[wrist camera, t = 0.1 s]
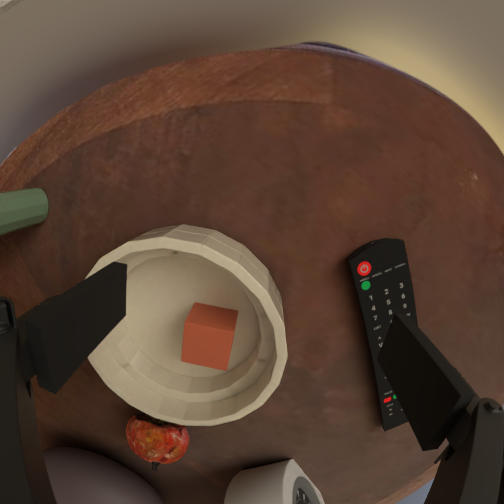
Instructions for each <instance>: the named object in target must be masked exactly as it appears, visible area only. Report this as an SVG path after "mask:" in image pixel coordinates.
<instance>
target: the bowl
mask: <svg viewBox="0 0 504 504" xmlns="http://www.w3.org/2000/svg"><path fill="white" fill-rule="evenodd" d="M113 261H115V262H119V263H124V264H127V288H126V316H125V317H124V318H123V319H122V320H121V321H120V322H119V323H118V325H117V326H116V327H115V328H114V329H113V330H112V331H111V332H110V333H109V334H108V335H107V336H106V338H105V339H104V340H103V341H102V342H101V343H100V344H99V345H98V346H97V347H96V349H95V350H94V351H93V352H92V353H91V354H90V355H89V356H88V359H89V362H90V363H91V365H92V366H93V367H94V369H95V370H96V372H97V373H98V374H99V376H100V377H101V378H102V380H103V381H104V382H105V384H106V385H107V386H108V387H109V388H110V389H111V390H112V391H114V392H115V393H116V394H117V395H118V396H120V397H121V398H122V399H123V400H124V401H126V402H127V403H128V404H129V405H131V406H133V407H135V408H137V409H138V410H140V411H142V412H144V413H146V414H148V415H150V416H152V417H154V418H157V419H161V420H164V421H168V422H172V423H176V424H180V425H189V426H213V425H218V424H222V423H226V422H230V421H234V420H238V419H240V418H242V417H244V416H245V415H247V414H249V413H250V412H252V411H254V410H255V409H257V408H259V407H260V406H262V405H263V404H264V403H265V401H266V400H267V399H268V398H269V396H270V395H271V394H272V393H273V392H274V390H275V389H276V388H277V387H278V385H279V383H280V380H281V377H282V374H283V371H284V367H285V364H286V361H287V357H288V355H287V345H286V335H285V325H284V317H283V308H282V299H281V295H280V293H279V291H278V289H277V287H276V285H275V283H274V281H273V279H272V277H271V275H270V273H269V271H268V269H267V268H266V267H265V266H264V265H263V264H262V263H261V262H260V261H259V260H258V259H257V258H256V257H255V256H254V255H253V254H252V253H251V252H250V250H249V249H248V248H247V247H246V246H244V245H242V244H241V243H239V242H237V241H235V240H233V239H231V238H229V237H227V236H226V235H224V234H222V233H220V232H218V231H216V230H212V229H207V228H201V227H196V226H190V225H185V224H184V225H183V224H181V225H175V226H168V227H162V228H156V229H152V230H150V231H148V232H146V233H144V234H142V235H140V236H138V237H136V238H134V239H132V240H130V241H128V242H127V243H125V244H123V245H121V246H120V247H118V248H116V249H114V250H113V251H111V252H109V253H108V254H106V255H104V256H103V257H101V258H100V259H99V260H98V262H97V263H96V264H95V266H94V267H93V269H92V270H91V271H90V273H89V274H88V275H87V277H86V278H88V277H89V276H91V275H92V274H94V273H96V272H97V271H99V270H100V269H102V268H104V267H105V266H107V265H108V264H110V263H112V262H113ZM86 278H85V279H86ZM195 302H197V303H202V304H207V305H212V306H217V307H222V308H227V309H232V310H238V316H237V322H236V327H235V333H234V338H233V344H232V349H231V354H230V359H229V364H228V369H227V371H224V370H219V369H214V368H209V367H204V366H200V365H195V364H191V363H186V362H182V361H181V354H182V342H183V331H184V322H185V320H186V318H187V316H188V314H189V313H190V311H191V309H192V307H193V305H194V303H195Z"/></svg>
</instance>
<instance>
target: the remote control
mask: <svg viewBox="0 0 504 504" xmlns="http://www.w3.org/2000/svg"><path fill="white" fill-rule="evenodd" d="M348 263H349V266H350V270H351V274H352V277H353V281H354V285H355V289H356V293H357V297H358V301H359V305H360V309H361V313H362V317H363V322H364V326H365V331H366V335H367V340H368V344H369V349H370V354H371V359H372V364H373V370H374V375H375V380H376V386H377V392H378V398H379V404H380V411H381V417H382V424H383V429H384V431H387V430H389V429H392V428H394V427H397V426H399V425H401V424H404V423H406V422H408V419H407V417H406V415H405V413H404V411H403V409H402V407H401V405H400V403H399V401H398V399H397V397H396V395H395V394H394V392H393V390H392V388H391V386H390V384H389V382H388V380H387V378H386V376H385V374H384V373H383V371H382V369H381V367H380V365H379V363H378V361H377V360H376V359H377V357H378V354H379V352H380V349H381V347H382V345H383V342H384V340H385V337H386V334H387V332H388V329H389V327H390V324H391V321H392V319H393V316H394V313H398V314H406V315H408V316H409V317H410V319H411V320H412V321H413V322H414V323H415V324H416V325H417V326H418V324H417V316H416V308H415V301H414V294H413V287H412V281H411V275H410V270H409V264H408V259H407V254H406V249H405V244H404V241H403V240H401V239H387V238H384V239H379V240H375V241H371V242H369V243H367V244H365V245H363V246H361V247H359V248H358V249H357V250H356V251H355V252H354V253H353V254H352V255H351V256H350V257H349V258H348Z"/></svg>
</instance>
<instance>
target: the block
mask: <svg viewBox="0 0 504 504" xmlns="http://www.w3.org/2000/svg"><path fill="white" fill-rule="evenodd" d="M237 316H238V310H232V309H227V308H222V307H217V306H212V305H207V304H202V303H197V302H195V303H194V305H193V307H192V309H191V311H190V313H189V314H188V316H187V318H186V320H185V322H184V331H183V342H182V354H181V361H182V362H186V363H191V364H195V365H200V366H204V367H209V368H214V369H219V370H224V371H227V369H228V364H229V359H230V354H231V349H232V344H233V338H234V333H235V327H236V322H237Z"/></svg>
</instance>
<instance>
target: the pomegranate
mask: <svg viewBox="0 0 504 504" xmlns="http://www.w3.org/2000/svg"><path fill="white" fill-rule="evenodd" d="M126 435H127V440H128V443H129V446H130V447H131V449H132V450H133V451H134V452H135V453H136V454H137V455H138V456H140V457H142V458H143V459H144V460H146V461H149V462H152V470H153V471H156V470H157V466H158V464H160V463H162V464H164V463H172V462H175V461H177V460H178V459H180V458H181V457H182V456H183V455H184V454H185V452H186V450H187V448H188V444H189V435H188V431H187V429H186V427H185V426H184V425H180V424H176V423H172V422H168V421H164V420H161V419H157V418H154V417H152V416H150V415H148V414H144V415H134V416H132V417H131V418H130V419H129V421H128V424H127V427H126ZM157 471H158V470H157Z"/></svg>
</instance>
